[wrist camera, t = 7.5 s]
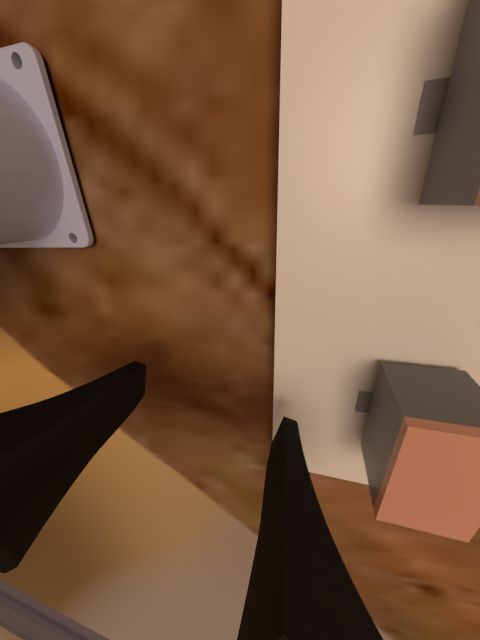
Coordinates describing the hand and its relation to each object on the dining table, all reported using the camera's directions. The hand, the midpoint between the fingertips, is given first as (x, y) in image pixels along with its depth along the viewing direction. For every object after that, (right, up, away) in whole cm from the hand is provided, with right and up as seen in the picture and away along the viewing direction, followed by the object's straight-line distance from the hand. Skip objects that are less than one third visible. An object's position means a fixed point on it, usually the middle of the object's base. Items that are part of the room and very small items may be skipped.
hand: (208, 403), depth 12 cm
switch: (+9, 0, -1) cm, 9 cm away
